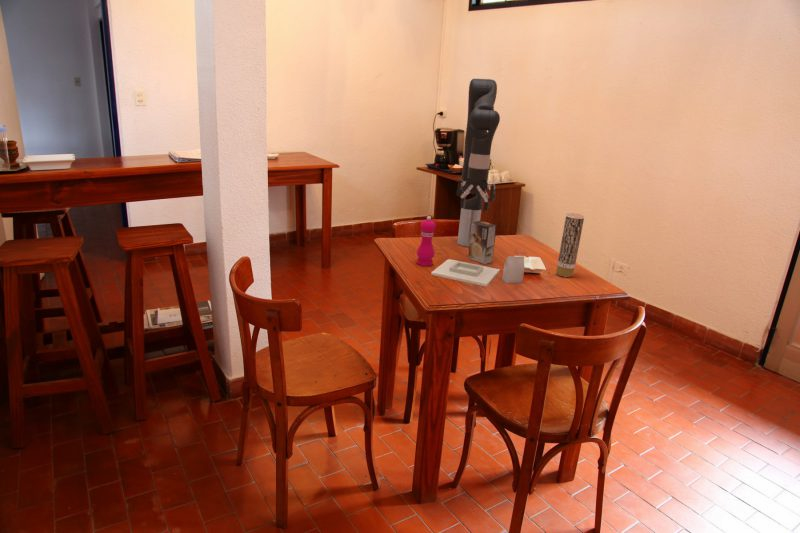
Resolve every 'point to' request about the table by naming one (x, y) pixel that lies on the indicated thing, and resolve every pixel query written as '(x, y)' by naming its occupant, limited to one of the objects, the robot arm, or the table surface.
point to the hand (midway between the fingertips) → (473, 209)
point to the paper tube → (570, 244)
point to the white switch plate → (466, 272)
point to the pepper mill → (426, 243)
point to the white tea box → (513, 269)
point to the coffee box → (482, 242)
